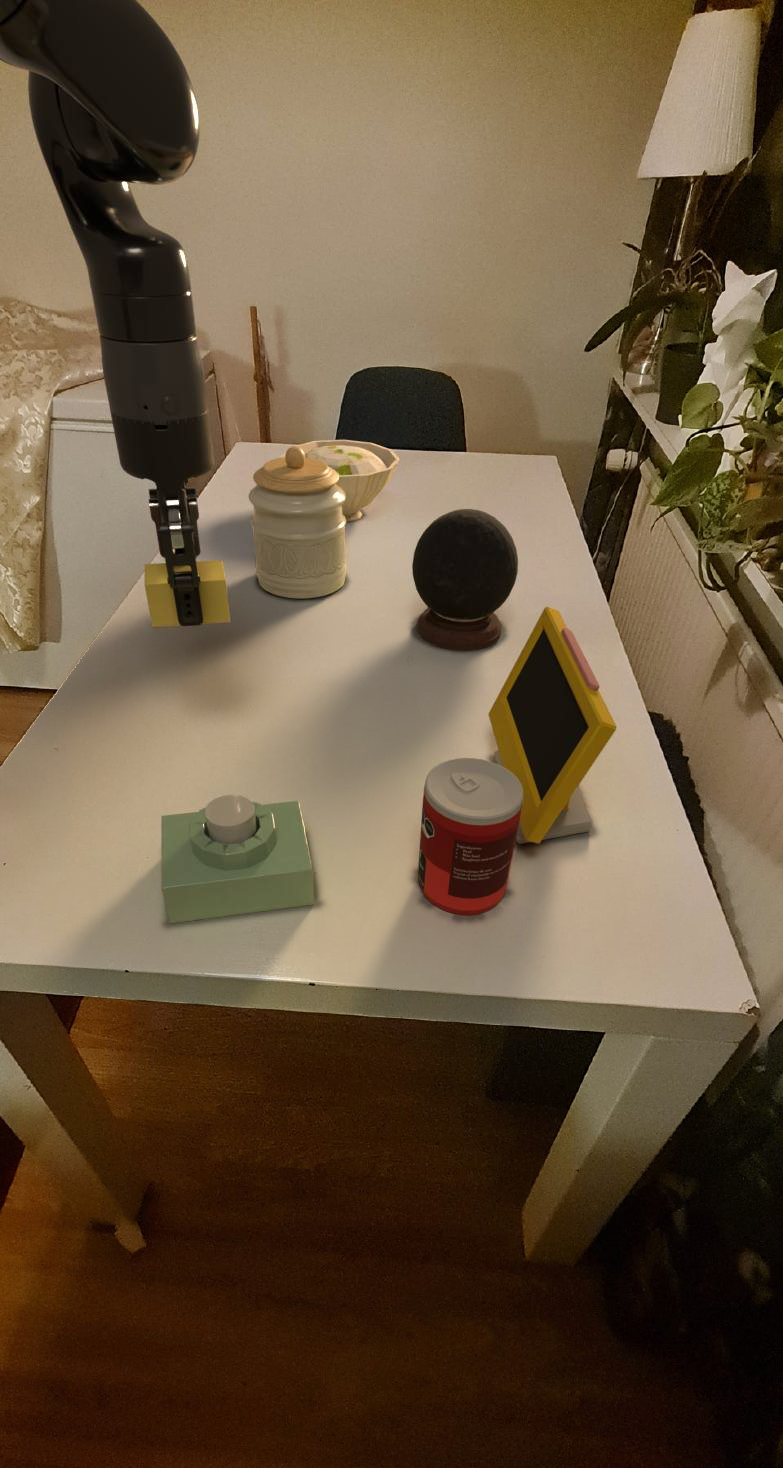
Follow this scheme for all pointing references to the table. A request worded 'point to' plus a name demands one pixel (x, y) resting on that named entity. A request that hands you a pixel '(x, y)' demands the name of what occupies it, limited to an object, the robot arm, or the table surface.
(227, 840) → the grey push button
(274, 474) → the jar
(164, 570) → the sponge
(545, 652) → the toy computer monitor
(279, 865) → the push button box
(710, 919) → the table surface
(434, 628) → the sphere on stand
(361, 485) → the bowl
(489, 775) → the canned food
